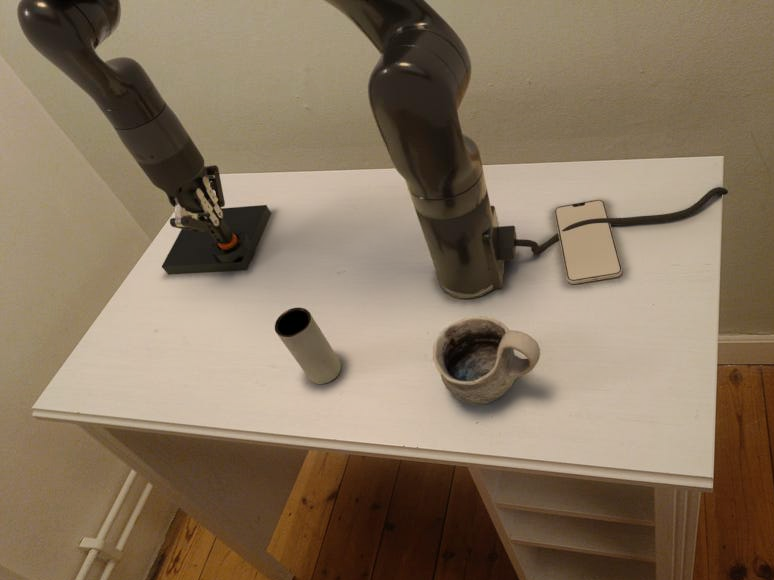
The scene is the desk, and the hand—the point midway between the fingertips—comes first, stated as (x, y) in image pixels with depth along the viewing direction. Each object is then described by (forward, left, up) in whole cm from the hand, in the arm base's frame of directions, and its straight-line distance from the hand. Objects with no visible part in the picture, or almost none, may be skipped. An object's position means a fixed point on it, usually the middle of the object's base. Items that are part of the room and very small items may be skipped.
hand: (226, 239), depth 94 cm
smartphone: (-55, +1, -4) cm, 55 cm away
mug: (-44, +24, -4) cm, 50 cm away
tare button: (0, 0, -2) cm, 2 cm away
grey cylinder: (-21, +22, -4) cm, 30 cm away
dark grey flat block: (+4, -3, -4) cm, 7 cm away
